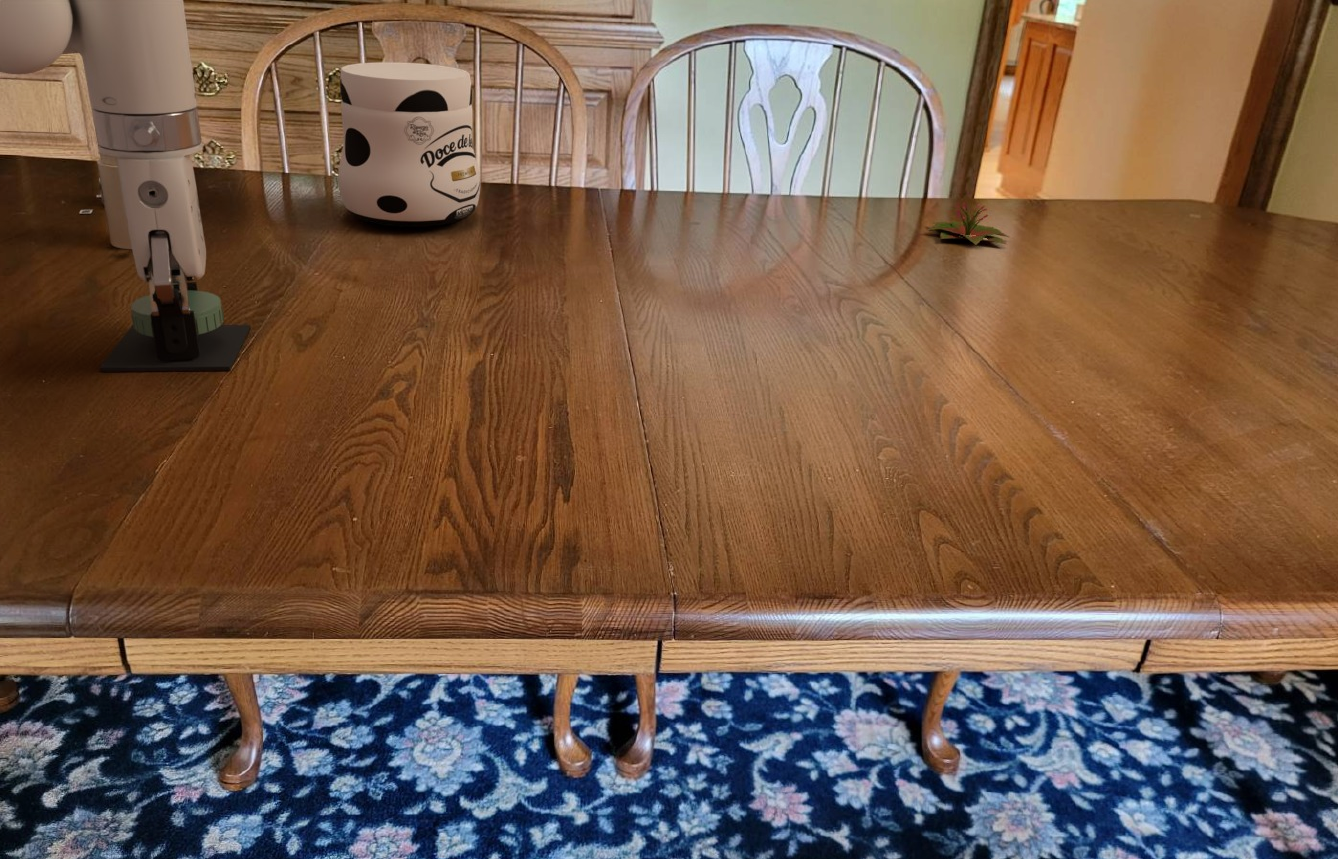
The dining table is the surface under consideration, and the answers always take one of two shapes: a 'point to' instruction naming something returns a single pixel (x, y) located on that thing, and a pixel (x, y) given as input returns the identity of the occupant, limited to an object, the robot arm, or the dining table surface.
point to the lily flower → (968, 228)
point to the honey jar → (113, 202)
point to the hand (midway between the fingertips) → (180, 340)
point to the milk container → (407, 144)
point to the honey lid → (200, 302)
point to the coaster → (214, 356)
